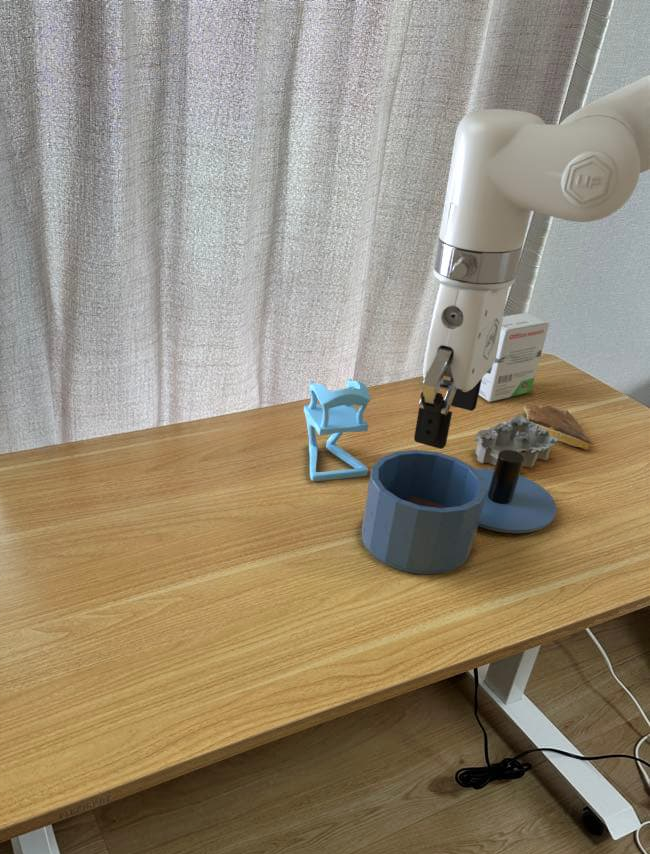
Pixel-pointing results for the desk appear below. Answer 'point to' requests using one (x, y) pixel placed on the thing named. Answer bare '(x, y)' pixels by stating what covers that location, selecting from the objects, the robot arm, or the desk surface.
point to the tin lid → (514, 498)
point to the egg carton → (514, 441)
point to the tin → (422, 511)
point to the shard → (558, 424)
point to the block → (424, 502)
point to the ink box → (515, 357)
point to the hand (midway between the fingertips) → (445, 424)
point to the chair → (336, 424)
